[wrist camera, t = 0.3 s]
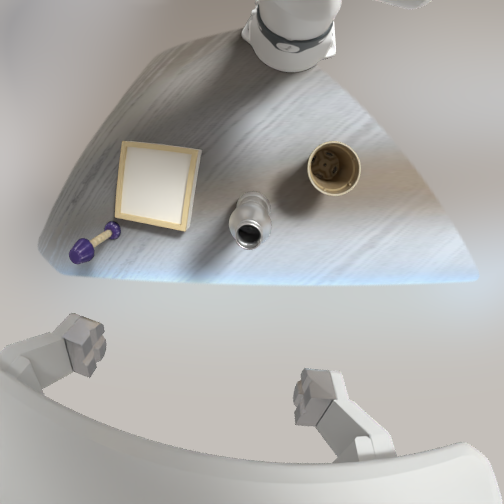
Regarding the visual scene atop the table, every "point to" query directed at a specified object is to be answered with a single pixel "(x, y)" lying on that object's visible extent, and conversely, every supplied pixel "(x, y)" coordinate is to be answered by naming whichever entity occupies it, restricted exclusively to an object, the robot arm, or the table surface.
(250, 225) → the plastic bottle
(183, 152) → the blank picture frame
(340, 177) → the flower pot
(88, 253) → the toy lamp
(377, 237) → the table surface
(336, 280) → the table surface
